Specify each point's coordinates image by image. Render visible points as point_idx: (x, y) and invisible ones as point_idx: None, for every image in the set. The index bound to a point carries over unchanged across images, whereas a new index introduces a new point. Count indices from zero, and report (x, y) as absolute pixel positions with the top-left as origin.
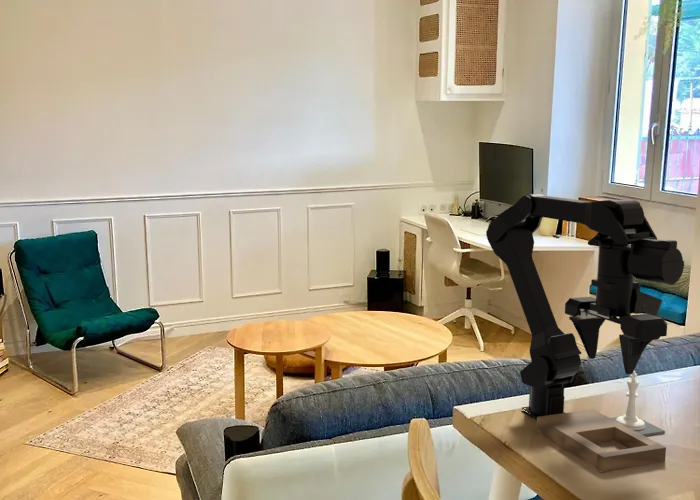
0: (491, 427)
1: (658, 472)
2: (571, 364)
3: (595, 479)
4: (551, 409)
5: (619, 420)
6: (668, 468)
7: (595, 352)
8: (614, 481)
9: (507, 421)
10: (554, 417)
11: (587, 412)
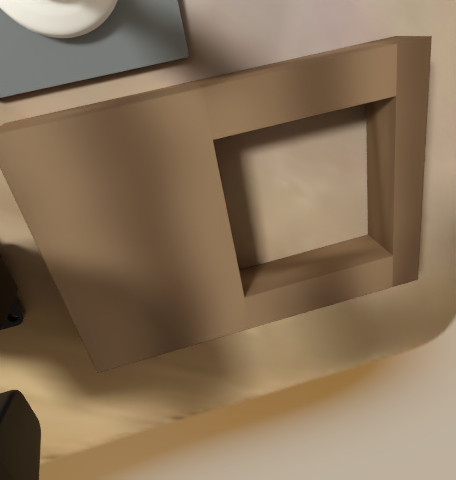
0: (78, 437)
1: (439, 104)
2: None
3: (411, 284)
4: (7, 313)
5: (55, 25)
6: None
7: (3, 444)
8: (434, 247)
9: None
10: (103, 324)
11: (35, 184)
